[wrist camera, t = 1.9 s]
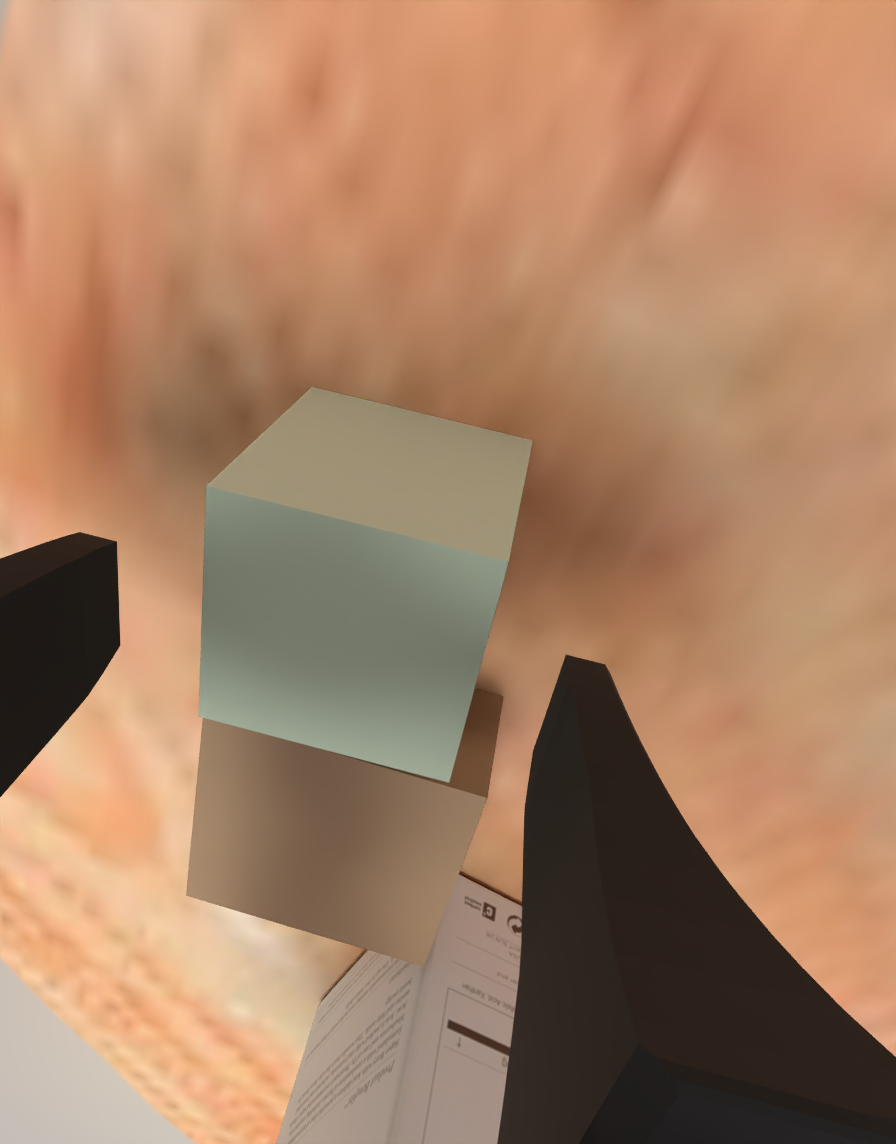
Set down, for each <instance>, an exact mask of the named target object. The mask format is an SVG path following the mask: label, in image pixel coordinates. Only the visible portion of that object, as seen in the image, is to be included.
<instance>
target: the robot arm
mask: <svg viewBox="0 0 896 1144" xmlns="http://www.w3.org/2000/svg"><path fill="white" fill-rule="evenodd" d="M119 646H120V623H119V594H118V564H117V542H116V541H112V540H108V539H104V538H100V537H96V536H93V535H89V534H85V533H81V532H79V533H75V534H72V535H68V536H65V537H61V538H58V539H55V540H52V541H49V542H46V543H43V544H40V545H37V546H34V547H32V548H29V549H26V550H23V551H20V552H18V553H15V554H12V555H9V556H6V557H4V558H1V559H0V797H1V796H2V795H3V794H4V792H5V791H6V790H7V789H8V788H9V787H10V786H11V784H12V783H13V782H14V781H15V780H16V779H17V778H18V776H19V775H20V774H21V773H22V772H23V771H24V769H25V768H26V767H27V766H28V765H29V764H30V763H31V761H32V760H33V759H34V758H35V757H36V756H37V755H38V753H39V752H40V751H41V750H42V749H43V748H44V747H45V745H46V744H47V743H48V742H49V741H50V740H51V739H52V737H53V736H54V735H55V734H56V733H57V732H58V730H59V729H60V728H61V727H62V726H63V725H64V723H65V722H66V721H67V720H68V719H69V718H70V716H71V715H72V714H73V713H74V712H75V711H76V709H77V708H78V707H79V706H80V705H81V703H82V702H83V701H84V700H85V699H86V697H87V696H88V695H89V693H90V692H91V690H92V689H93V687H94V686H95V684H96V683H97V681H98V680H99V678H100V677H101V675H102V674H103V672H104V671H105V669H106V667H107V666H108V664H109V663H110V661H111V659H112V658H113V656H114V654H115V653H116V651H117V650H118V648H119ZM497 1144H896V1057H895V1056H894V1055H893V1054H892V1053H890V1052H889V1051H888V1050H887V1049H886V1048H885V1047H884V1046H883V1045H882V1044H881V1043H879V1042H878V1041H877V1040H876V1039H875V1038H874V1037H873V1036H872V1035H871V1034H870V1033H869V1032H867V1031H866V1030H865V1029H864V1028H863V1027H862V1026H861V1025H860V1024H859V1023H858V1022H856V1021H855V1020H854V1019H853V1018H852V1017H851V1016H850V1015H849V1014H848V1013H847V1012H846V1011H845V1010H844V1009H843V1008H842V1007H841V1006H839V1005H838V1004H837V1003H836V1002H835V1001H834V1000H833V998H832V997H831V996H830V995H829V994H828V993H827V992H826V991H825V990H824V989H823V988H822V987H821V986H820V985H819V984H818V983H817V982H816V981H815V980H814V979H813V978H812V977H811V976H810V975H809V974H808V973H807V972H806V971H805V970H804V969H803V968H802V967H801V966H800V965H799V964H798V963H797V961H796V960H795V959H794V958H793V957H792V956H791V955H790V954H789V953H788V952H787V951H786V949H785V948H784V947H783V946H782V945H781V944H780V943H779V942H778V941H777V940H776V939H775V937H774V936H773V935H772V934H771V933H770V932H769V930H768V929H767V928H766V927H765V926H764V925H763V923H762V922H761V921H760V920H759V919H758V917H757V916H756V915H755V914H754V913H753V911H752V910H751V909H750V908H749V907H748V906H747V904H746V903H745V902H744V901H743V900H742V898H741V897H740V896H739V895H738V893H737V892H736V891H735V890H734V888H733V887H732V886H731V885H730V883H729V882H728V881H727V879H726V878H725V877H724V876H723V874H722V873H721V872H720V870H719V869H718V867H717V866H716V865H715V863H714V862H713V860H712V859H711V858H710V856H709V855H708V854H707V852H706V851H705V849H704V848H703V847H702V845H701V844H700V842H699V841H698V840H697V838H696V837H695V835H694V834H693V832H692V831H691V829H690V828H689V826H688V824H687V823H686V821H685V820H684V818H683V817H682V815H681V813H680V812H679V810H678V808H677V807H676V805H675V803H674V802H673V800H672V798H671V797H670V795H669V793H668V791H667V790H666V788H665V786H664V784H663V783H662V781H661V779H660V777H659V775H658V774H657V772H656V770H655V768H654V766H653V764H652V762H651V760H650V758H649V756H648V754H647V753H646V751H645V749H644V747H643V745H642V743H641V741H640V739H639V737H638V735H637V733H636V731H635V729H634V726H633V724H632V722H631V720H630V718H629V716H628V714H627V711H626V709H625V707H624V705H623V702H622V700H621V698H620V696H619V693H618V691H617V689H616V686H615V684H614V682H613V679H612V677H611V674H610V672H609V670H608V669H607V667H606V665H605V664H601V663H597V662H593V661H589V660H585V659H581V658H577V657H573V656H569V655H566V656H565V659H564V662H563V665H562V668H561V671H560V674H559V677H558V680H557V683H556V686H555V689H554V692H553V695H552V698H551V700H550V703H549V706H548V709H547V712H546V715H545V718H544V721H543V724H542V727H541V730H540V733H539V736H538V739H537V742H536V745H535V747H534V750H533V756H532V762H531V769H530V776H529V782H528V789H527V796H526V803H525V815H524V848H523V890H522V933H521V955H520V970H519V980H518V989H517V997H516V1005H515V1013H514V1021H513V1030H512V1038H511V1046H510V1053H509V1061H508V1068H507V1076H506V1083H505V1091H504V1099H503V1106H502V1114H501V1121H500V1128H499V1135H498V1142H497Z"/></svg>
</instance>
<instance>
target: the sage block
mask: <svg viewBox="0 0 896 1144" xmlns="http://www.w3.org/2000/svg"><path fill="white" fill-rule="evenodd" d="M532 443H533V440H530V439H526V438H522V437H518V436H513V435H509V434H505V433H501V432H497V431H493V430H489V429H485V428H480V427H476V426H472V425H468V424H464V423H460V422H456V421H452V420H447V419H443V418H439V417H435V416H431V415H427V414H423V413H419V412H414V411H410V410H406V409H402V408H398V407H394V406H390V405H386V404H381V403H377V402H373V401H369V400H365V399H361V398H357V397H353V396H349V395H344V394H340V393H336V392H332V391H328V390H324V389H320V388H316V387H311V388H310V389H309V390H308V391H307V392H306V393H305V394H304V395H303V396H301V397H300V398H299V399H298V400H297V401H296V402H295V403H294V404H293V405H292V406H291V407H290V408H289V409H288V410H286V411H285V412H284V413H283V414H282V415H281V416H280V417H279V418H278V419H277V420H276V421H275V422H274V423H273V424H272V425H270V426H269V427H268V428H267V429H266V430H265V431H264V432H263V433H262V434H261V435H260V436H259V437H258V438H257V439H256V440H254V441H253V442H252V443H251V444H250V445H249V446H248V447H247V448H246V449H245V450H244V451H243V452H242V453H241V454H240V455H238V456H237V457H236V458H235V459H234V460H233V461H232V462H231V463H230V464H229V465H228V466H227V467H226V468H225V469H224V470H222V471H221V472H220V473H219V474H218V475H217V476H216V477H215V478H214V479H213V480H212V481H211V482H210V483H209V484H207V485H206V505H205V535H204V566H203V597H202V627H201V658H200V688H199V717H202V718H206V719H210V720H214V721H217V722H221V723H225V724H229V725H232V726H236V727H240V728H244V729H248V730H251V731H255V732H259V733H263V734H267V735H270V736H274V737H278V738H282V739H286V740H289V741H293V742H297V743H301V744H304V745H308V746H312V747H316V748H320V749H323V750H327V751H331V752H335V753H339V754H342V755H346V756H350V757H354V758H357V759H361V760H365V761H369V762H373V763H376V764H380V765H384V766H388V767H392V768H395V769H399V770H403V771H407V772H411V773H414V774H418V775H422V776H426V777H429V778H433V779H437V780H441V781H445V782H448V783H449V781H450V778H451V774H452V770H453V766H454V763H455V759H456V755H457V752H458V748H459V744H460V740H461V737H462V733H463V729H464V726H465V722H466V718H467V714H468V711H469V707H470V703H471V700H472V696H473V692H474V688H475V685H476V681H477V677H478V674H479V670H480V666H481V663H482V659H483V655H484V651H485V648H486V644H487V640H488V637H489V633H490V629H491V625H492V622H493V618H494V614H495V611H496V607H497V603H498V599H499V596H500V592H501V588H502V585H503V581H504V577H505V573H506V570H507V566H508V562H509V558H510V553H511V548H512V543H513V538H514V533H515V528H516V523H517V518H518V513H519V508H520V503H521V498H522V493H523V488H524V483H525V478H526V473H527V468H528V463H529V458H530V453H531V448H532Z"/></svg>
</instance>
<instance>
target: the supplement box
mask: <svg viewBox="0 0 896 1144" xmlns="http://www.w3.org/2000/svg"><path fill="white" fill-rule="evenodd" d="M521 933H522V906H520V905H518V904H516V903H514V902H512V901H510V900H508V899H506V898H504V897H502V896H500V895H499V894H497V893H495V892H493V891H491V890H489V889H487V888H485V887H483V886H481V885H479V884H477V883H475V882H473V881H471V880H469V879H467V878H465V877H463V876H461V875H459V874H458V877H457V880H456V882H455V885H454V888H453V890H452V893H451V896H450V898H449V901H448V904H447V906H446V909H445V912H444V914H443V917H442V920H441V922H440V925H439V927H438V930H437V933H436V935H435V938H434V941H433V943H432V946H431V949H430V951H429V954H428V957H427V959H426V962H425V965H424V967H423V966H420V965H416V964H413V963H410V962H406V961H403V960H400V959H396V958H393V957H390V956H386V955H383V954H380V953H376V952H373V951H370V950H367V952H366V953H365V954H364V955H363V956H362V957H361V958H360V959H359V960H358V961H357V963H356V964H355V965H354V966H353V967H352V968H351V969H350V970H349V971H348V973H347V974H346V975H345V976H344V977H343V978H342V979H341V980H340V982H339V983H338V984H337V985H336V986H335V987H334V988H333V989H332V990H331V992H330V993H329V994H328V995H327V996H326V997H325V998H324V1000H323V1001H322V1002H321V1003H320V1005H319V1006H318V1008H317V1011H316V1015H315V1018H314V1021H313V1024H312V1028H311V1031H310V1034H309V1038H308V1041H307V1044H306V1048H305V1051H304V1054H303V1057H302V1061H301V1064H300V1067H299V1071H298V1074H297V1077H296V1080H295V1084H294V1087H293V1090H292V1093H291V1097H290V1100H289V1103H288V1106H287V1110H286V1113H285V1116H284V1119H283V1123H282V1126H281V1129H280V1133H279V1136H278V1139H277V1142H276V1144H497V1142H498V1135H499V1128H500V1121H501V1114H502V1106H503V1099H504V1091H505V1083H506V1076H507V1068H508V1061H509V1053H510V1046H511V1038H512V1030H513V1021H514V1013H515V1005H516V997H517V989H518V980H519V970H520V955H521Z"/></svg>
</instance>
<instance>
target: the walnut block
mask: <svg viewBox="0 0 896 1144" xmlns="http://www.w3.org/2000/svg"><path fill="white" fill-rule="evenodd" d="M502 701H503V697H502V696H498V695H495V694H492V693H488V692H485V691H481V690H478V689H475V688H474V692H473V696H472V700H471V703H470V707H469V711H468V714H467V718H466V722H465V726H464V729H463V733H462V737H461V740H460V744H459V748H458V752H457V755H456V759H455V763H454V766H453V770H452V774H451V778H450V781H449V783H448V782H445V781H441V780H437V779H433V778H429V777H426V776H422V775H418V774H414V773H411V772H407V771H403V770H399V769H395V768H392V767H388V766H384V765H380V764H376V763H373V762H369V761H365V760H361V759H357V758H354V757H350V756H346V755H342V754H339V753H335V752H331V751H327V750H323V749H320V748H316V747H312V746H308V745H304V744H301V743H297V742H293V741H289V740H286V739H282V738H278V737H274V736H270V735H267V734H263V733H259V732H255V731H251V730H248V729H244V728H240V727H236V726H232V725H229V724H225V723H221V722H217V721H214V720H210V719H206V718H203V723H202V733H201V744H200V754H199V765H198V776H197V786H196V797H195V807H194V818H193V828H192V839H191V849H190V860H189V871H188V881H187V892H186V896H189V897H193V898H196V899H199V900H203V901H206V902H209V903H213V904H216V905H219V906H223V907H226V908H229V909H233V910H236V911H239V912H243V913H246V914H249V915H253V916H256V917H259V918H263V919H266V920H269V921H273V922H276V923H279V924H283V925H286V926H289V927H293V928H296V929H300V930H303V931H306V932H310V933H313V934H316V935H320V936H323V937H326V938H330V939H333V940H336V941H340V942H343V943H346V944H350V945H353V946H356V947H360V948H363V949H366V950H370V951H373V952H376V953H380V954H383V955H386V956H390V957H393V958H396V959H400V960H403V961H406V962H410V963H413V964H416V965H420V966H423V967H424V965H425V962H426V959H427V957H428V954H429V951H430V949H431V946H432V943H433V941H434V938H435V935H436V933H437V930H438V927H439V925H440V922H441V920H442V917H443V914H444V912H445V909H446V906H447V904H448V901H449V898H450V896H451V893H452V890H453V888H454V885H455V882H456V880H457V877H458V874H459V872H460V869H461V866H462V864H463V861H464V858H465V856H466V853H467V850H468V848H469V845H470V842H471V840H472V837H473V835H474V832H475V829H476V827H477V824H478V821H479V819H480V816H481V813H482V811H483V808H484V805H485V803H486V800H487V796H488V790H489V784H490V777H491V771H492V765H493V758H494V752H495V746H496V739H497V733H498V727H499V720H500V714H501V708H502Z"/></svg>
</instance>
